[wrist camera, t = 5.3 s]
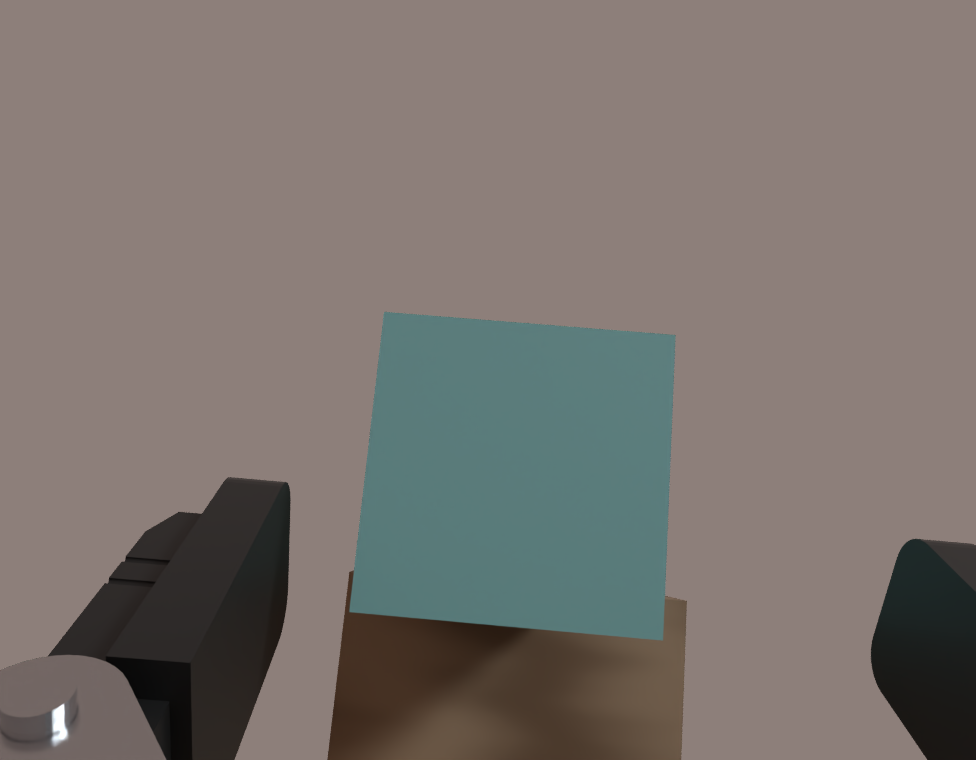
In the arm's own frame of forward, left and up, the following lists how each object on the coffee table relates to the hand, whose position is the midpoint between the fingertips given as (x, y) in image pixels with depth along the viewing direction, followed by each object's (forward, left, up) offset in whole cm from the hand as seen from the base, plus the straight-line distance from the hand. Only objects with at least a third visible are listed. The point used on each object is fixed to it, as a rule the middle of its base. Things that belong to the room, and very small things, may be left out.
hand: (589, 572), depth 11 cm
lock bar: (0, -12, -1) cm, 12 cm away
